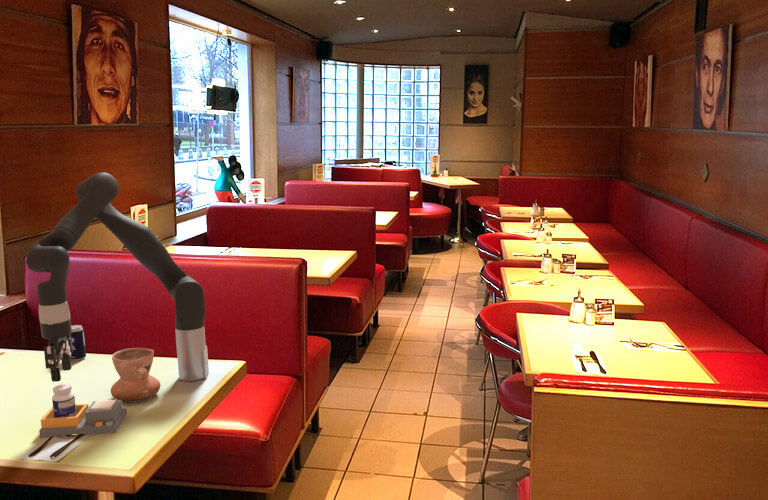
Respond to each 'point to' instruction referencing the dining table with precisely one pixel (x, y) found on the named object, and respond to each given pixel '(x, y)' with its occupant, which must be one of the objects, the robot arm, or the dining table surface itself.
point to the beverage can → (77, 343)
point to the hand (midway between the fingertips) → (61, 375)
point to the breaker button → (103, 405)
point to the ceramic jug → (134, 375)
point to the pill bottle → (63, 401)
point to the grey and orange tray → (84, 421)
